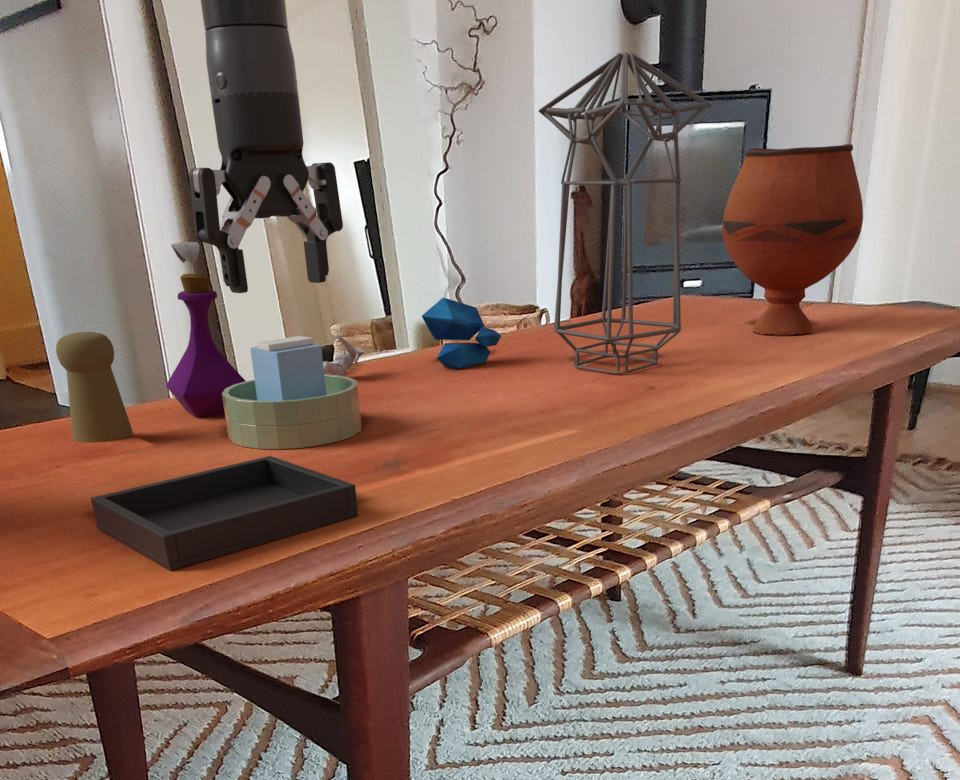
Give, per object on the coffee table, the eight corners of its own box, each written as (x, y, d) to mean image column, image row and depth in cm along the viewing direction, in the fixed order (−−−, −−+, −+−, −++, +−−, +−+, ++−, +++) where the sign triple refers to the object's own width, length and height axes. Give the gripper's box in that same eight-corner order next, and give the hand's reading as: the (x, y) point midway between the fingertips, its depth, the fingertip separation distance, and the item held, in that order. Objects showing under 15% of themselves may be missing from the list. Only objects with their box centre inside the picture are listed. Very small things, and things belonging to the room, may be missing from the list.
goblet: (696, 326, 153) (706, 150, 142) (809, 319, 156) (828, 145, 145) (747, 345, 136) (764, 146, 125) (873, 336, 139) (900, 141, 128)
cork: (60, 452, 96) (33, 337, 91) (98, 437, 101) (75, 328, 96) (111, 455, 94) (87, 338, 89) (148, 439, 99) (127, 328, 94)
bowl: (273, 462, 90) (266, 408, 87) (206, 439, 99) (198, 389, 96) (387, 435, 97) (383, 384, 95) (315, 415, 106) (310, 369, 104)
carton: (287, 441, 95) (275, 346, 91) (261, 432, 98) (249, 341, 94) (330, 431, 97) (320, 339, 94) (303, 423, 101) (293, 334, 97)
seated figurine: (284, 399, 119) (317, 352, 127) (317, 424, 121) (347, 375, 129) (315, 358, 114) (346, 311, 122) (348, 384, 116) (377, 336, 124)
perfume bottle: (255, 416, 107) (231, 241, 99) (188, 426, 104) (157, 246, 96) (234, 404, 113) (210, 238, 105) (170, 414, 110) (140, 243, 102)
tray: (170, 571, 66) (163, 536, 64) (97, 528, 74) (90, 497, 73) (358, 515, 75) (355, 484, 74) (274, 483, 83) (270, 455, 82)
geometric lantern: (531, 368, 126) (528, 57, 111) (612, 351, 135) (619, 61, 120) (623, 384, 115) (634, 41, 100) (704, 364, 125) (725, 48, 109)
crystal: (515, 308, 128) (448, 296, 120) (506, 375, 131) (439, 368, 123) (478, 304, 133) (410, 292, 125) (469, 369, 136) (403, 361, 128)
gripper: (300, 95, 91) (320, 277, 98) (159, 94, 83) (191, 293, 90) (346, 88, 86) (363, 281, 93) (200, 86, 78) (231, 298, 85)
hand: (279, 287), depth 92 cm, fingers open, 8 cm apart
